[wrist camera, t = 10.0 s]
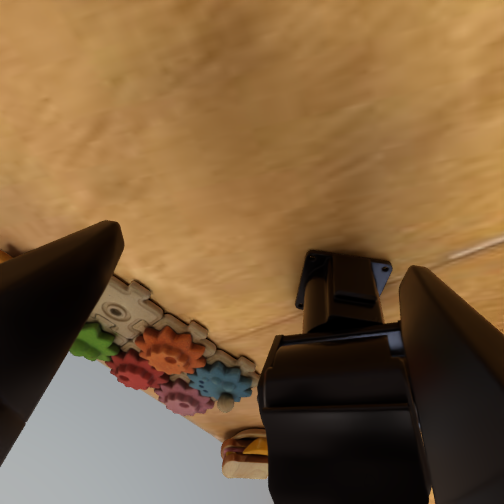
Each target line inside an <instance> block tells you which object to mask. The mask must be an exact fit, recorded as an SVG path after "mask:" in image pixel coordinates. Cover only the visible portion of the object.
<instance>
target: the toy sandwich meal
mask: <svg viewBox="0 0 504 504" xmlns="http://www.w3.org/2000/svg"><path fill="white" fill-rule="evenodd" d="M221 457H222V458H223V463H222V472H223V475H224V476H225V477H227V478H250V479H266V478H267V476H268V448H267V439H266V430H265V429H247V430H243V431H241V432H239V433H238V434H236V435H235V436H234V437H232V438H231V439H227V440H225V441H224V442H223V444H222V446H221Z"/></svg>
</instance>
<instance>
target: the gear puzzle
mask: <svg viewBox="0 0 504 504" xmlns="http://www.w3.org/2000/svg"><path fill="white" fill-rule="evenodd" d="M10 259H12V257H11V256H10V255H8V254H7V253H5V252H4V251H2V250H0V263H3V262H5V261H7V260H10ZM150 295H151V292H150V291H148V290H147V289H145V288H144V287H142V286H141V285H140V284H138V283H137V282H135V281H132V282H131V283H130V285H129V286H127V285H126V284H124V283H123V282H121V281H120V280H118V279H117V278H116V277H114V276H112V277H111V279H110V281H109V283H108V285H107V287H106V289H105V291H104V293H103V294H102V296H101V298H100V300H99V301H98V303H97V305H96V306H95V308H94V310H93V311H92V313H91V315H90V316H89V318H88V320H87V321H86V323H85V325H84V326H83V328H82V330H81V332H80V333H79V335H78V337H77V338H76V340H75V342H74V343H73V345H72V347H71V348H70V350H69V351H70V352H71V353H72V354H73V355H74V356H84V357H85V358H86V359H88V360H91V361H95V360H96V359H99V360H103V361H105V363H106V364H107V365H108V366H109V367H110V368H112V369H111V371H110V373H111V374H113V375H115V376H116V377H117V380H118V382H121V383H123V384H124V385H125V386H126V387H132V388H134V389H136V390H138V389H143V390H146V389H147V388H148V387H152V388H154V392H155V393H156V394H157V395H159V398H158V400H159V401H160V402H162V403H164V404H165V405H166V408H167V409H169V410H172V411H173V413H177V414H181V415H182V416H186V415H190V416H193V415H194V414H195V413H202V414H204V413H205V412H206V409H212V408H213V407H214V402H215V401H218V402H217V406H218V409H219V410H220V411H221V412H223V413H227V412H230V411H231V410H232V409H233V407H234V402H240V399H241V397H249V396H251V394H252V390H251V388H253V387H256V386H257V384H258V381H259V379H260V376H259V375H258V374H256V373H255V372H254V371H255V367H256V365H255V364H254V363H252V362H251V361H249V360H248V359H246V358H245V357H243V356H242V357H240V358H239V359H238V360H236V359H234V358H232V357H231V356H230V355H228V354H227V353H225V352H224V351H221V350H216V346H215V345H214V344H213V343H212V342H210V341H209V340H207V339H206V337H207V335H208V331H207V330H206V329H204V328H203V327H201V326H200V325H198V324H197V323H196V322H193V321H192V322H191V323H190V324H189V326H188V325H185V324H184V323H182V322H181V321H179V320H178V319H176V318H175V317H173V316H172V315H169V314H165V315H163V310H162V309H161V308H160V307H158V306H157V305H155V304H154V303H152V302H151V301H149V300H148V299H149V297H150Z"/></svg>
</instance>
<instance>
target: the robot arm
mask: <svg viewBox="0 0 504 504" xmlns="http://www.w3.org/2000/svg"><path fill="white" fill-rule="evenodd" d="M123 250H124V239H123V235H122V231H121V227H120V225H119V223H118V222H115V221H108V220H104V221H102V222H99V223H97V224H94V225H92V226H90V227H87V228H85V229H82V230H80V231H77V232H75V233H73V234H70V235H68V236H65V237H63V238H61V239H58V240H56V241H53V242H51V243H49V244H46V245H44V246H41V247H39V248H36V249H34V250H32V251H29V252H27V253H24V254H22V255H20V256H17V257H15V258H12V259H10V260H7V261H5V262H3V263H0V467H1V465H2V463H3V462H4V460H5V458H6V456H7V454H8V453H9V451H10V450H11V448H12V446H13V445H14V443H15V441H16V440H17V438H18V436H19V434H20V433H21V431H22V430H23V428H24V426H25V424H26V423H25V422H27V421H28V419H29V417H30V416H31V414H32V412H33V411H34V409H35V407H36V406H37V404H38V402H39V401H40V399H41V397H42V396H43V394H44V392H45V390H46V389H47V387H48V385H49V384H50V382H51V380H52V379H53V377H54V375H55V374H56V372H57V370H58V368H59V367H60V365H61V363H62V362H63V360H64V358H65V357H66V355H67V353H68V352H69V350H70V348H71V347H72V345H73V343H74V342H75V340H76V338H77V337H78V335H79V333H80V332H81V330H82V328H83V326H84V325H85V323H86V321H87V320H88V318H89V316H90V315H91V313H92V311H93V310H94V308H95V306H96V305H97V303H98V301H99V300H100V298H101V296H102V294H103V293H104V291H105V289H106V287H107V285H108V283H109V281H110V279H111V277H112V274H113V272H114V270H115V268H116V265H117V263H118V261H119V259H120V256H121V254H122V252H123ZM310 256H315V257H314V258H311V257H310ZM383 267H387V268H383ZM392 269H393V268H392V265H391V263H390V262H389V261H384V260H377V259H370V258H364V257H357V256H350V255H344V254H336V253H330V252H323V251H316V250H310V251H308V252H307V253H306V256H305V261H304V265H303V270H302V274H301V279H300V283H299V288H298V292H297V297H296V301H295V306H296V308H298V309H302V310H304V311H303V333H302V334H295V335H287V336H284V335H276V336H275V338H274V341H273V344H272V346H271V349H270V351H269V354H268V357H267V359H266V362H265V365H264V367H263V370H262V372H261V376H260V379H259V381H258V384H257V390H258V395H257V401H258V404H259V411H260V415H261V419H262V422H263V425H264V427H265V430H266V439H267V448H268V487H269V491H270V494H271V497H272V499H273V501H274V504H428V503H429V494H430V491H431V487H432V489H433V494H434V499H435V504H504V335H503V334H502V333H501V332H500V331H499V330H498V329H496V328H495V327H494V326H493V325H492V324H491V323H490V322H488V321H487V320H486V319H485V318H484V317H483V316H482V315H480V314H479V313H478V312H477V311H476V310H475V309H474V308H472V307H471V306H470V305H469V304H468V303H467V302H466V301H464V300H463V299H462V298H461V297H460V296H459V295H458V294H456V293H455V292H454V291H453V290H452V289H451V288H450V287H448V286H447V285H446V284H445V283H444V282H443V281H442V280H440V279H439V278H438V277H437V276H436V275H435V274H434V273H432V272H431V271H430V270H429V269H428V268H426V267H422V266H415V265H412V266H410V267H409V268H408V270H407V272H406V274H405V276H404V278H403V280H402V282H401V284H400V287H399V302H400V316H401V320H399V321H398V322H395V323H387V324H385V322H384V317H383V312H382V307H381V302H380V295H381V293H382V291H383V289H384V287H385V284H386V282H387V280H388V278H389V276H390V274H391V272H392ZM421 434H422V437H421ZM422 439H423V441H422ZM423 444H424V445H423Z"/></svg>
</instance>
